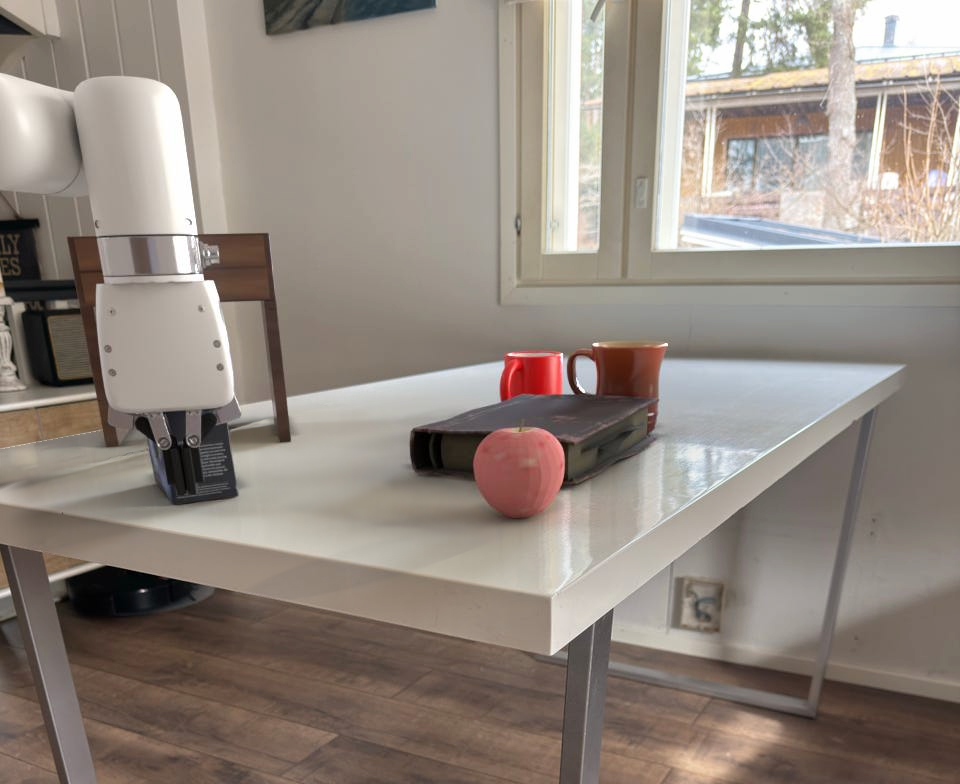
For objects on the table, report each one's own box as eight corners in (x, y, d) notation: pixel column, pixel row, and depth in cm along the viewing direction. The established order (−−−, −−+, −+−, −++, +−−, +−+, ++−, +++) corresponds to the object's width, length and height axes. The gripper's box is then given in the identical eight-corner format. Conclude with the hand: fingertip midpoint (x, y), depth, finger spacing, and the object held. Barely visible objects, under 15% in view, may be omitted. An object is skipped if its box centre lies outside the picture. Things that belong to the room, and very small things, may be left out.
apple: (575, 507, 76) (576, 412, 73) (550, 530, 70) (550, 427, 67) (493, 501, 79) (492, 409, 76) (462, 523, 73) (459, 424, 69)
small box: (150, 483, 89) (131, 374, 85) (216, 475, 91) (201, 369, 87) (168, 506, 80) (148, 386, 76) (241, 496, 83) (225, 379, 79)
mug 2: (671, 428, 109) (676, 341, 105) (650, 441, 102) (654, 348, 98) (579, 423, 115) (581, 339, 111) (553, 435, 107) (554, 346, 103)
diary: (408, 475, 89) (405, 424, 87) (516, 432, 110) (516, 390, 108) (581, 492, 81) (582, 436, 79) (663, 443, 101) (666, 398, 99)
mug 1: (479, 420, 118) (477, 359, 115) (522, 407, 128) (521, 350, 125) (531, 424, 115) (531, 361, 112) (571, 410, 124) (572, 351, 121)
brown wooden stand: (291, 441, 108) (269, 232, 99) (107, 454, 103) (66, 236, 94) (285, 423, 120) (264, 236, 111) (120, 433, 116) (85, 239, 107)
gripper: (248, 260, 75) (273, 476, 82) (59, 265, 72) (102, 489, 79) (249, 260, 68) (277, 494, 76) (40, 265, 65) (90, 510, 72)
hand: (187, 491), depth 77 cm, fingers closed
